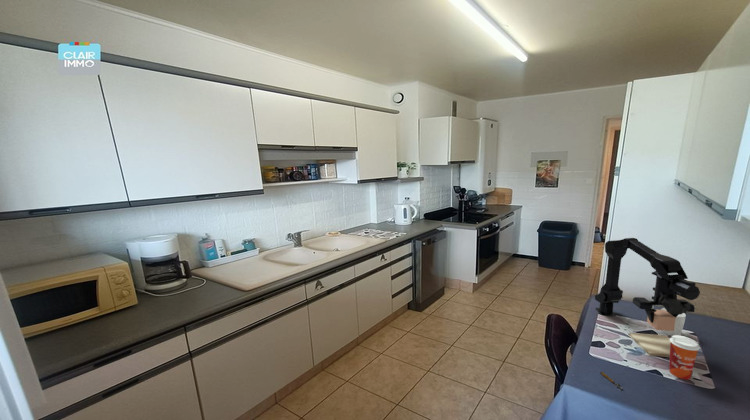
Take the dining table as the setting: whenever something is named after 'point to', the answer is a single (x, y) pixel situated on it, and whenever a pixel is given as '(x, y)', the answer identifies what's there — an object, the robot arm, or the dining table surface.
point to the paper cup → (682, 356)
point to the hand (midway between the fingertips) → (660, 322)
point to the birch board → (653, 344)
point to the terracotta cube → (663, 320)
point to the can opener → (611, 380)
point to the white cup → (676, 325)
